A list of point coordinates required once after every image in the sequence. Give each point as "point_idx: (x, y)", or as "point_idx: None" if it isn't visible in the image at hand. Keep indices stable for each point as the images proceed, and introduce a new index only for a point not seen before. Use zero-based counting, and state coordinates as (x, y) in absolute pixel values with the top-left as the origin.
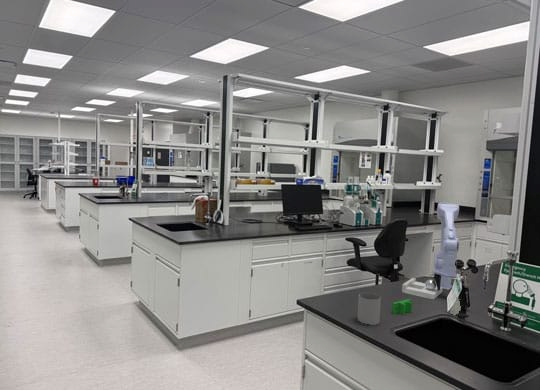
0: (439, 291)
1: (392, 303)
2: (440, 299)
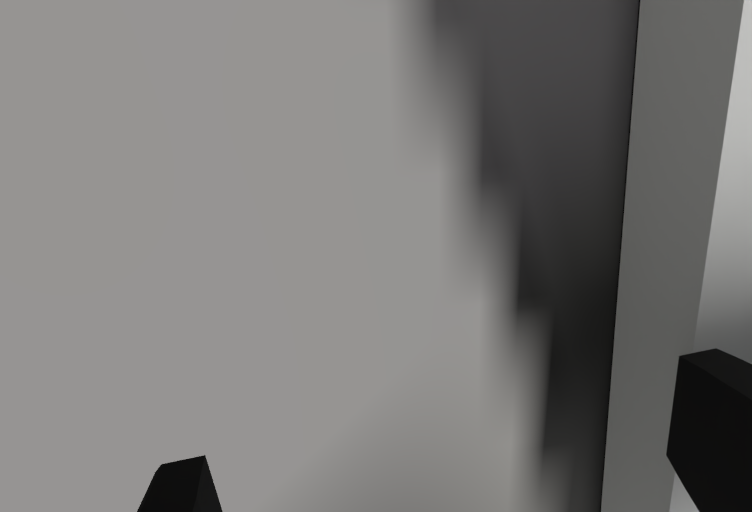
0: (645, 472)
1: None
2: (499, 105)
